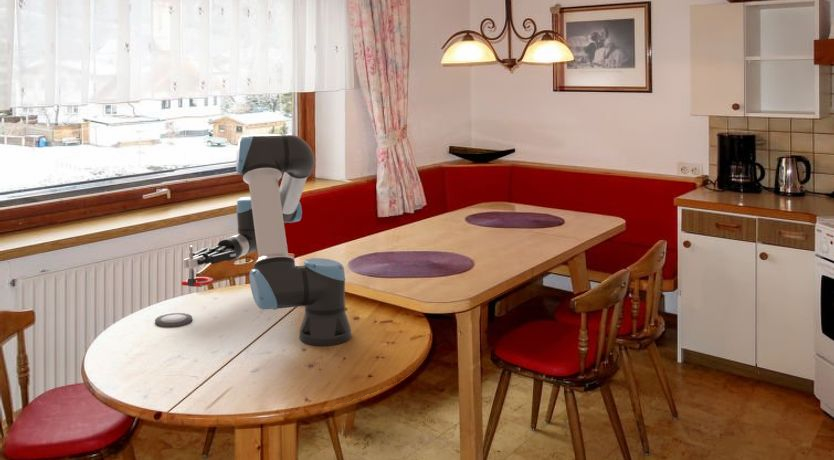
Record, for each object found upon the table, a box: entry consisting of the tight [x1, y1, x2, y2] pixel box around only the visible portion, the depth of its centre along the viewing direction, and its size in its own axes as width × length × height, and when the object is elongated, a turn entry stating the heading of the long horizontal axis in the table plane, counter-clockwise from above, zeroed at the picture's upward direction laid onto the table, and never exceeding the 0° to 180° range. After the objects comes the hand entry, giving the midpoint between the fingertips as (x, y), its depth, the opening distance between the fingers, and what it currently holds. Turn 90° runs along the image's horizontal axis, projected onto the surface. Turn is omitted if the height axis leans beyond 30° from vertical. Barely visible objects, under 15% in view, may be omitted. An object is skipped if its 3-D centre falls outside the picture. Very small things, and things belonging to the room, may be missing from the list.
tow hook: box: [181, 245, 214, 288], centre depth 235 cm, size 8×13×9 cm
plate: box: [154, 312, 193, 328], centre depth 231 cm, size 11×11×1 cm
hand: (187, 264), depth 229 cm, fingers closed on tow hook
